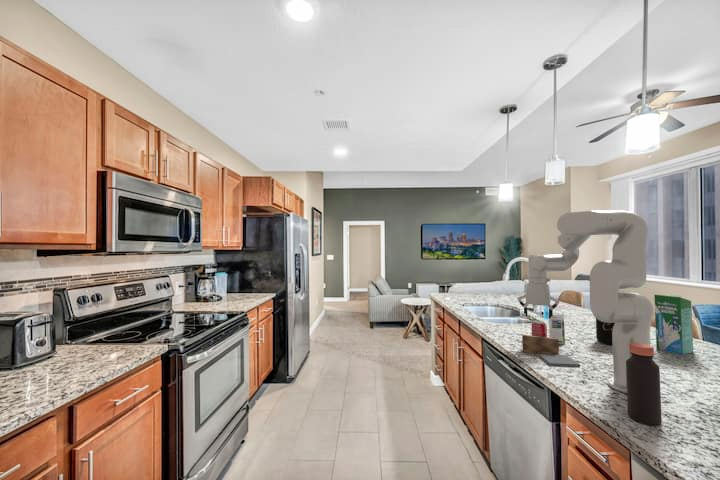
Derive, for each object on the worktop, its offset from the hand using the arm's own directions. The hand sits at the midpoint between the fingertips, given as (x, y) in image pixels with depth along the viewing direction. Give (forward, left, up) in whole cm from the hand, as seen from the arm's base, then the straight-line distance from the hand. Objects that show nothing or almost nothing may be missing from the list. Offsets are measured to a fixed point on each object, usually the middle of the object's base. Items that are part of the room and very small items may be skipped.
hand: (538, 316), depth 147 cm
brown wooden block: (-8, +3, -14) cm, 17 cm away
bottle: (-63, -2, -15) cm, 64 cm away
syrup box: (+9, -12, -15) cm, 21 cm away
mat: (-19, 0, -14) cm, 23 cm away
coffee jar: (+11, -37, -15) cm, 42 cm away
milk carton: (+2, -58, -15) cm, 60 cm away
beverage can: (-1, 0, -15) cm, 15 cm away
